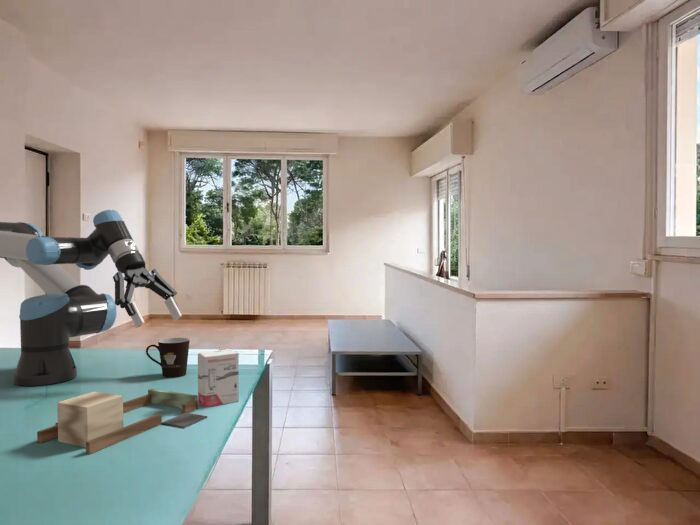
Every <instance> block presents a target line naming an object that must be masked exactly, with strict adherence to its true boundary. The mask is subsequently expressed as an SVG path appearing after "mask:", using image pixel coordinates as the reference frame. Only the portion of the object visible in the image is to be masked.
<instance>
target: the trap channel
mask: <svg viewBox="0 0 700 525" xmlns="http://www.w3.org/2000/svg"><path fill="white" fill-rule="evenodd" d="M150 404H155V405H161V406H167V407H175V408H179V407H180V409H181V413H182V414H179V415H176V416H174V417H172V418H170V419H167V420H165V421H163V420H162V419H163V418H162V413H157V414H156V413H155V414H154V415H152V416H148V417H147V418H144V419H141V420H139V421H136V422H133V423H131V424H128V425H126V426H123V428H121V429H118V430H115V431H113V432H110V433H108V434H105V435H103V436H100V437H98V438H95V439H93V440H90V441H87V442H86V447H85V454H86V455H92V454H95V453H96V452H98V451H101V450H103V449H105V448H108V447H111V446H113V445H115V444H118V443H119V442H122V441H125V440H127V439H129V438H132V437H134V436H137V435H139V434H141V433H144V432H146V431H149V430H151V429H154V428H156V427H158V426H160V425H165V426H172V427H177V428H181V427H183V429H186V428H188V427H190V426H192V425H194V424H197V423H199V422H200V420H201V421H203V420H205V419H207V418H208V416H207V415H202V414H197V413H191V412H193V410H194V411H196V410H198V409H199V403H198V394H197V395H196V394H190V393H183V392H182V393H181V392H176V391H175V392H174V391H169V390H163V389H162V390H161V389H156V388H149V389H147V394H144V395H141V396H138V397H136V398H133V399H130V400H126V401H123V414H125V413H128V412H130V411H133V410H136V409H138V408H142V407H144V406H147V405H150ZM195 409H196V410H195ZM188 412H189V413H188ZM204 418H205V419H204ZM202 419H203V420H202ZM198 421H199V422H198ZM196 422H197V423H196ZM187 426H188V427H187ZM185 427H186V428H185ZM36 436H37V438H36V440H37V441H36V442H37V443H39V444H42V443H45V442H47V441H51V440H53V439H56V438H58V421H57V422H55V425H53V426H50V427H47V428H45V429H41V430H39V431H36Z"/></svg>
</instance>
